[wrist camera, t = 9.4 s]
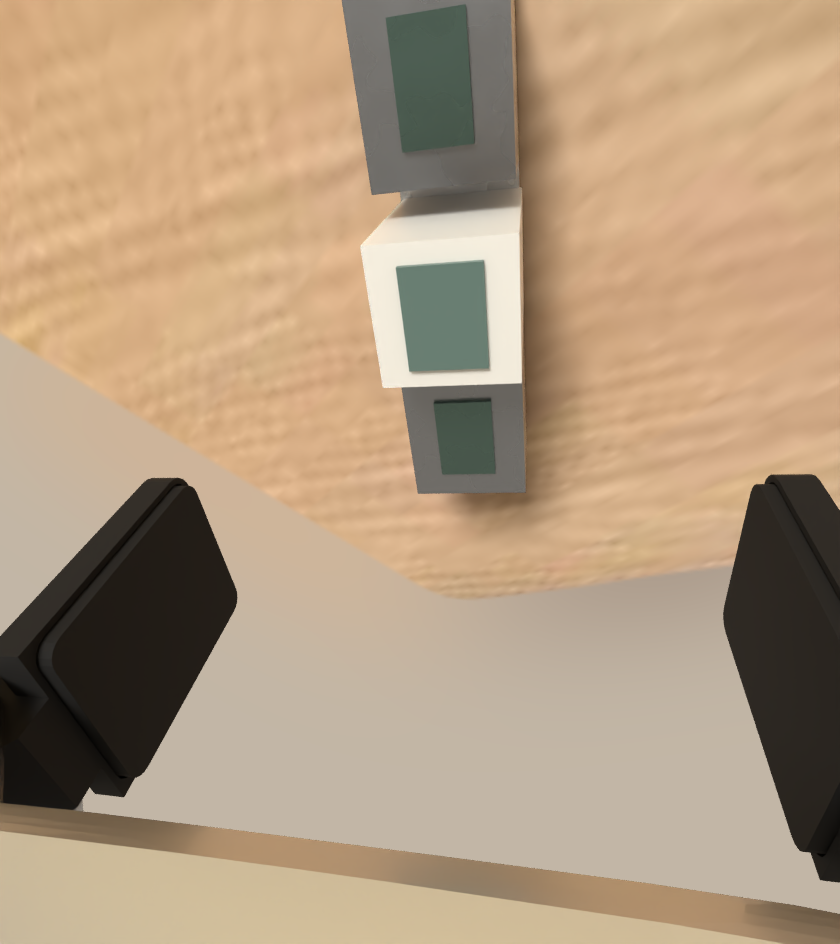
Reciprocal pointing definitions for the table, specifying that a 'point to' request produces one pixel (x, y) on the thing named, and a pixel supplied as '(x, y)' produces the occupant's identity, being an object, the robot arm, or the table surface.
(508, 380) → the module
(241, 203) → the table surface
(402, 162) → the rail
